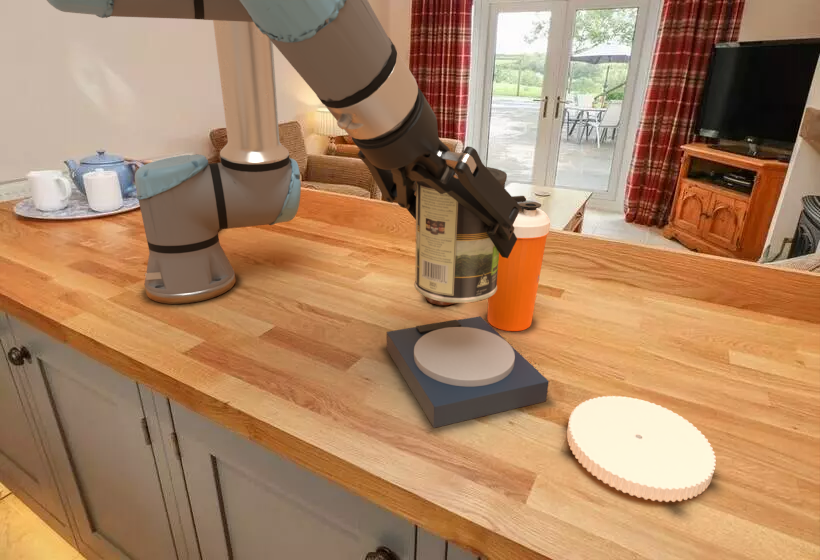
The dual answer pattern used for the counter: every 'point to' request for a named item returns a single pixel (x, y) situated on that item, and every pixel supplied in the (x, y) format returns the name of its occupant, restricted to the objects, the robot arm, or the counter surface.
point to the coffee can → (453, 248)
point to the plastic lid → (641, 448)
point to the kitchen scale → (464, 370)
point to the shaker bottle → (520, 270)
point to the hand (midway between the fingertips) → (471, 238)
